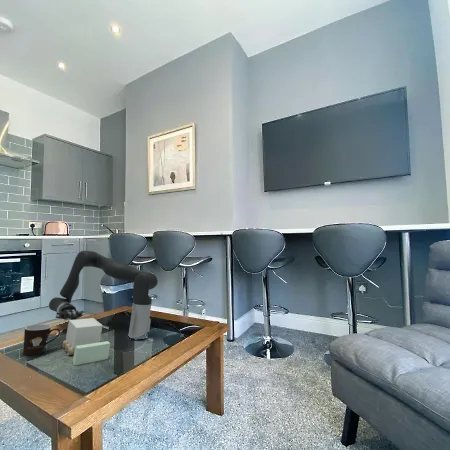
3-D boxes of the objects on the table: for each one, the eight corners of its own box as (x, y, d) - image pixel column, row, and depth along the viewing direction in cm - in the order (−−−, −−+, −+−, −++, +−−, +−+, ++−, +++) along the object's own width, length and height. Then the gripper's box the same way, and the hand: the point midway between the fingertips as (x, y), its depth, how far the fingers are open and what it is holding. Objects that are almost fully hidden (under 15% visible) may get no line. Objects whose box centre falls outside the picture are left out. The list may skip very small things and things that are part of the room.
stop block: (105, 356, 102) (107, 341, 103) (107, 358, 100) (110, 343, 100) (72, 362, 94) (75, 346, 94) (74, 365, 91) (77, 348, 92)
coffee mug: (14, 357, 93) (20, 330, 94) (26, 349, 101) (31, 323, 103) (49, 357, 96) (54, 330, 97) (58, 349, 104) (62, 324, 106)
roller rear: (91, 342, 115) (93, 335, 115) (93, 344, 113) (95, 337, 113) (62, 346, 107) (63, 339, 107) (63, 349, 105) (64, 341, 105)
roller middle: (94, 345, 112) (96, 338, 112) (96, 347, 110) (98, 340, 110) (64, 350, 104) (65, 342, 104) (65, 352, 101) (67, 345, 102)
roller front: (98, 348, 109) (99, 341, 109) (100, 351, 106) (101, 343, 107) (66, 354, 100) (68, 346, 101) (68, 356, 98) (69, 348, 99)
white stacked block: (90, 335, 115) (93, 318, 116) (99, 344, 106) (102, 325, 107) (65, 338, 108) (69, 320, 109) (73, 348, 99) (76, 328, 100)
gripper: (53, 304, 129) (60, 311, 116) (81, 302, 138) (90, 309, 125) (50, 318, 128) (57, 328, 115) (78, 316, 137) (87, 324, 124)
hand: (74, 318), depth 120 cm, fingers closed
